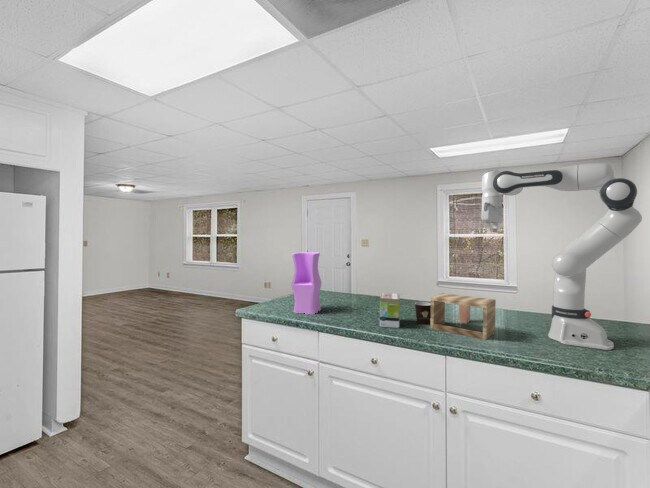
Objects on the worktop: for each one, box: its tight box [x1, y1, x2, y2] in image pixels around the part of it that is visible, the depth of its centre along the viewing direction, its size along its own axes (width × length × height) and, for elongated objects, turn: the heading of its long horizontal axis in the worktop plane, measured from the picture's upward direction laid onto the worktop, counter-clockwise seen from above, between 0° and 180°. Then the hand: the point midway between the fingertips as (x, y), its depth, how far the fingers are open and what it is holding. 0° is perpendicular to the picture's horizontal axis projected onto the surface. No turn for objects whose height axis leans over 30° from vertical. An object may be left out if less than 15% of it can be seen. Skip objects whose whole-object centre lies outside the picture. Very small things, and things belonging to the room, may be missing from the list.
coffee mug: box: [414, 301, 431, 325], centre depth 172 cm, size 12×9×10 cm
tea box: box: [379, 292, 401, 329], centre depth 171 cm, size 15×10×15 cm
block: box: [458, 304, 471, 324], centre depth 174 cm, size 4×5×11 cm
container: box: [291, 251, 322, 315], centre depth 197 cm, size 14×14×35 cm
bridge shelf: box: [430, 292, 497, 340], centre depth 159 cm, size 26×14×16 cm, turn 49°
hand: (492, 231), depth 164 cm, fingers open, 8 cm apart
